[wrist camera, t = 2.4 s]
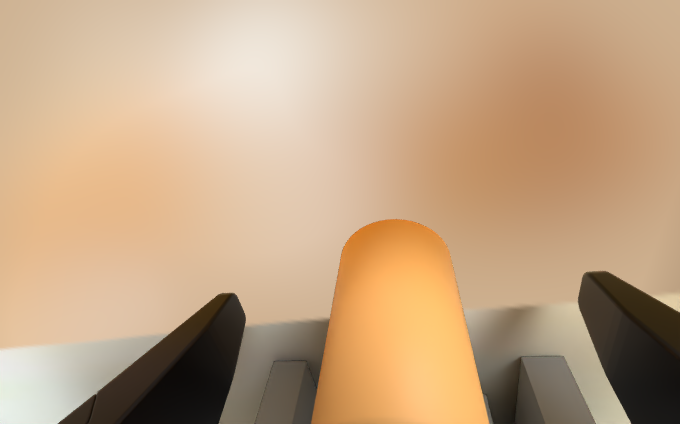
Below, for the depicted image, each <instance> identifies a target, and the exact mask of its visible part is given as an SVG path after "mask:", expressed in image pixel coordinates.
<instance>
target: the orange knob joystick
mask: <svg viewBox="0 0 680 424" xmlns="http://www.w3.org/2000/svg"><path fill="white" fill-rule="evenodd" d="M311 424H493V421H492V417H491V413H490V409H489V405H488V400H487V396H486V394H482V390H481V385H480V381H479V377H478V372H477V368H476V364H475V359H474V355H473V351H472V347H471V342H470V338H469V334H468V329H467V325H466V321H465V316H464V312H463V308H462V304H461V299H460V295H459V291H458V286H457V282H456V278H455V273H454V269H453V265H452V260H451V256H450V253H449V250H448V248H447V246H446V244H445V242H444V241H443V240H442V238H441V237H439V235H438V234H436V233H435V232H434V231H433V230H431V229H429V228H428V227H426V226H424V225H421V224H419V223H416V222H412V221H407V220H398V219H391V220H383V221H378V222H375V223H371V224H369V225H366V226H365V227H363V228H361V229H359V230H358V231H357V232H355V233H354V234H353V235H352V236H351V237H350V238H349V240H348V241H347V242H346V244H345V246H344V248H343V250H342V254H341V259H340V266H339V271H338V276H337V282H336V287H335V293H334V298H333V304H332V310H331V315H330V321H329V326H328V332H327V337H326V343H325V349H324V354H323V360H322V365H321V371H320V377H319V382H318V388H317V393H316V399H315V404H314V410H313V416H312V421H311Z"/></svg>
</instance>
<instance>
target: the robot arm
mask: <svg viewBox="0 0 680 424" xmlns="http://www.w3.org/2000/svg"><path fill="white" fill-rule="evenodd" d="M578 305H579V309H580V311H581V314H582V316H583V319H584V322H585V324H586V327H587V329H588V332H589V334H590V337H591V339H592V342H593V344H594V347H595V350H596V352H597V355H598V357H599V360H600V362H601V365H602V367H603V369H604V372H605V374H606V376H607V378H608V380H609V382H610V384H611V386H612V388H613V390H614V391H615V393H616V395H617V397H618V399H619V401H620V403H621V405H622V407H623V408H624V410H625V412H626V414H627V416H628V418H629V420H630V422H631V424H680V312H678V311H676V310H674V309H673V308H671V307H669V306H667V305H666V304H664V303H662V302H660V301H659V300H657V299H655V298H653V297H651V296H650V295H648V294H646V293H644V292H643V291H641V290H639V289H637V288H636V287H634V286H632V285H630V284H628V283H627V282H625V281H623V280H621V279H620V278H618V277H616V276H614V275H613V274H611V273H609V272H606V271H593V272H586V273H584V275H583V277H582V282H581V287H580V292H579V297H578ZM245 322H246V317H245V313H244V311H243V308H242V306H241V304H240V302H239V299H238V297H237V295H235V294H234V293H222V294H219V295H217V296H216V297H215V298H214V299H212V300H211V301H210V302H209V303H207V304H206V305H205V306H204V307H203V308H201V309H200V310H199V311H197V312H196V313H195V314H194V315H193V316H191V317H190V318H189V319H188V320H186V321H185V322H184V323H183V324H181V325H180V326H179V327H178V328H176V329H175V330H174V331H173V332H171V333H170V334H169V335H168V336H166V337H165V338H164V339H163V340H161V341H160V342H159V343H158V344H157V345H155V346H154V347H153V348H152V349H150V350H149V351H148V352H147V353H145V354H144V355H143V356H142V357H140V358H139V359H138V360H137V361H135V362H134V363H133V364H132V365H130V366H129V367H128V368H127V369H125V370H124V371H123V372H122V373H121V374H119V375H118V376H117V377H116V378H114V379H113V380H112V381H111V382H109V383H108V384H107V385H106V386H104V387H103V388H102V389H101V390H99V391H98V393H97V394H95V395H93V396H92V397H91V398H89V399H88V400H87V401H86V402H84V403H83V404H82V405H81V406H79V407H78V408H77V409H76V410H74V411H73V412H72V413H71V414H69V415H68V416H67V417H65V418H64V419H63V420H62V421H60V422H59V423H58V424H218V423H219V420H220V417H221V414H222V411H223V408H224V405H225V402H226V399H227V396H228V393H229V390H230V386H231V383H232V380H233V377H234V373H235V369H236V364H237V360H238V355H239V350H240V346H241V341H242V337H243V332H244V327H245Z"/></svg>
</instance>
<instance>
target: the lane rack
mask: <svg viewBox="0 0 680 424" xmlns="http://www.w3.org/2000/svg"><path fill="white" fill-rule="evenodd" d="M316 393H317V389H316V387H315V384H314V381H313V378H312V375H311V373H310V370H309V367H308V364H307V361H274V363H273V366H272V369H271V372H270V376H269V379H268V382H267V385H266V389H265V392H264V395H263V398H262V401H261V405H260V408H259V411H258V414H257V417H256V421H255V424H311V421H312V416H313V410H314V404H315V399H316ZM514 424H596V423H595V421H594V419H593V417H592V415H591V413H590V410H589V408H588V406H587V404H586V402H585V400H584V398H583V396H582V394H581V392H580V390H579V388H578V385H577V383H576V381H575V379H574V377H573V375H572V373H571V371H570V369H569V367H568V365H567V362H566V360H565V358H564V356H545V357H521V365H520V374H519V384H518V393H517V403H516V412H515V422H514Z"/></svg>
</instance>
